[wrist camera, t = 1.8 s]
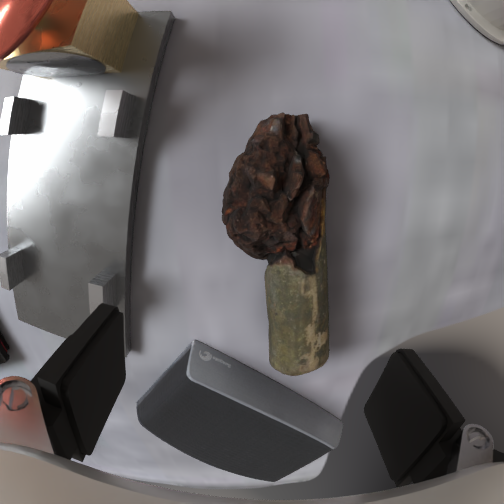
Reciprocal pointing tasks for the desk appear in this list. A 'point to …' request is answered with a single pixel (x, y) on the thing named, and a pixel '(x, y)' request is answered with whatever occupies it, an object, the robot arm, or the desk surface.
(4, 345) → the keyboard
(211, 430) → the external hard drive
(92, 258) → the stand
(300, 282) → the morel mushroom
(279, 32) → the desk surface
